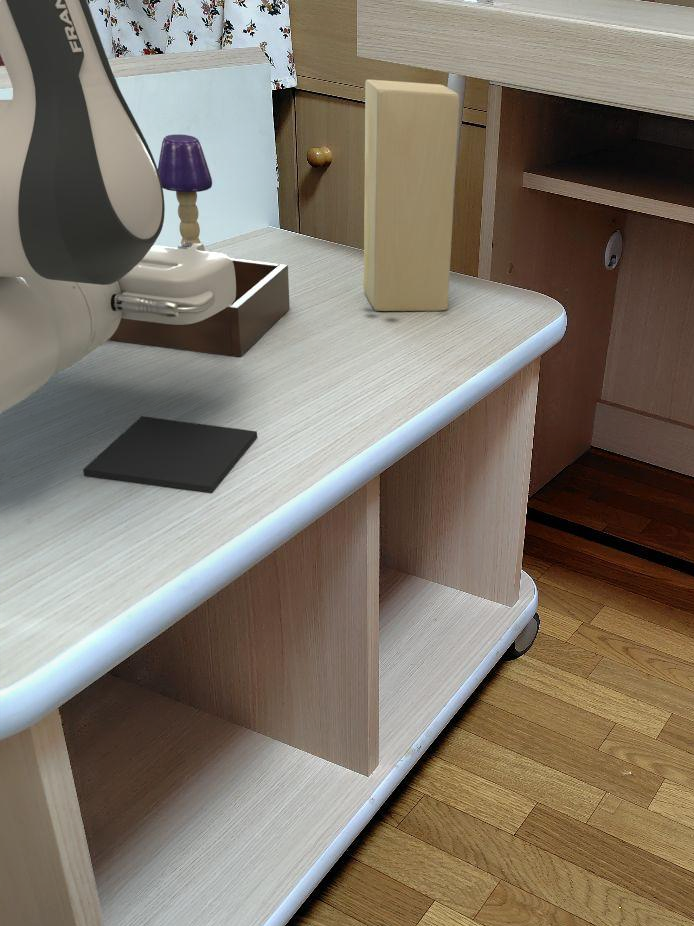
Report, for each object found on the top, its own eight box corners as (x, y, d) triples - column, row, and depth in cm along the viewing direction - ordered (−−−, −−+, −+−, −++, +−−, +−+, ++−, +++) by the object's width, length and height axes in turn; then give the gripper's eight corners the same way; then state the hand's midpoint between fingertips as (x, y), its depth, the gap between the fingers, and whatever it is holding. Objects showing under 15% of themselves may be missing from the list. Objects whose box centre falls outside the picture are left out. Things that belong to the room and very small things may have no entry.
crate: (92, 337, 88) (85, 288, 86) (158, 292, 100) (153, 247, 98) (241, 357, 88) (237, 308, 85) (289, 309, 99) (288, 264, 97)
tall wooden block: (433, 288, 109) (441, 82, 98) (450, 311, 103) (460, 94, 92) (361, 289, 107) (361, 77, 96) (374, 312, 101) (375, 89, 90)
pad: (83, 475, 68) (82, 469, 67) (142, 421, 75) (141, 415, 75) (211, 492, 67) (211, 486, 67) (257, 437, 75) (257, 431, 75)
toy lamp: (233, 325, 94) (219, 140, 85) (189, 335, 91) (171, 144, 82) (204, 310, 97) (188, 129, 88) (160, 320, 93) (140, 133, 85)
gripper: (191, 270, 67) (262, 221, 78) (-100, 233, 67) (13, 190, 79) (200, 358, 70) (266, 299, 82) (-79, 322, 71) (27, 268, 83)
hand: (140, 245), depth 80 cm, fingers open, 8 cm apart
